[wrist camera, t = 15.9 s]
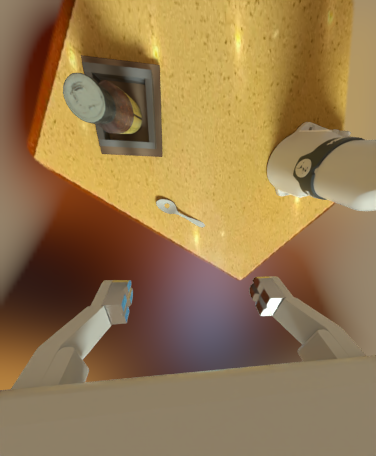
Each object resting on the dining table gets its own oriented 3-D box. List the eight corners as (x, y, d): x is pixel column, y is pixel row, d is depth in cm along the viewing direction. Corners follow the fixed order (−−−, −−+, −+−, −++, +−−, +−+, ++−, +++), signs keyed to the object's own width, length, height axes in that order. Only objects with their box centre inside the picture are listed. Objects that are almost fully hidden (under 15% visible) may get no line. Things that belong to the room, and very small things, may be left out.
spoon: (160, 193, 43) (159, 195, 41) (214, 225, 50) (215, 227, 49) (153, 205, 44) (153, 207, 43) (207, 233, 52) (208, 236, 50)
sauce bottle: (112, 94, 30) (37, 33, 13) (144, 102, 31) (114, 57, 14) (113, 132, 33) (54, 123, 16) (142, 138, 34) (116, 136, 17)
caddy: (159, 67, 30) (158, 56, 26) (162, 156, 38) (161, 158, 34) (84, 58, 28) (69, 44, 24) (103, 153, 36) (95, 155, 32)
